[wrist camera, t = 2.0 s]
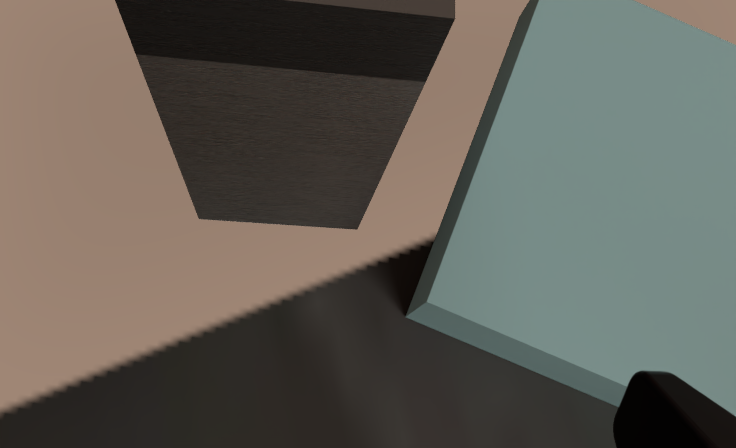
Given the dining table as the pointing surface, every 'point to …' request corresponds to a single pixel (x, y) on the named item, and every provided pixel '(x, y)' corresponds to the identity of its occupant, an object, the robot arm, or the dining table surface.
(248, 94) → the housing
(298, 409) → the dining table surface
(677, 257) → the stand
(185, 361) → the dining table surface
